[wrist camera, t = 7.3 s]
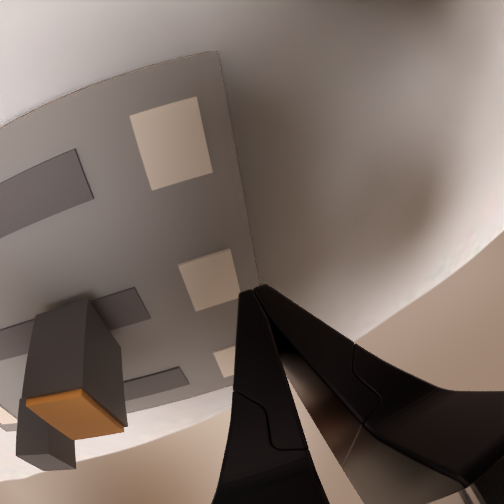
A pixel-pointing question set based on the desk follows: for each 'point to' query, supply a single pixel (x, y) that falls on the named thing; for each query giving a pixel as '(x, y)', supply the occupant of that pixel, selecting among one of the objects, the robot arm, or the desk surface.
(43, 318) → the block
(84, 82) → the desk surface
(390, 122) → the desk surface
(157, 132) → the panel
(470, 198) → the desk surface
